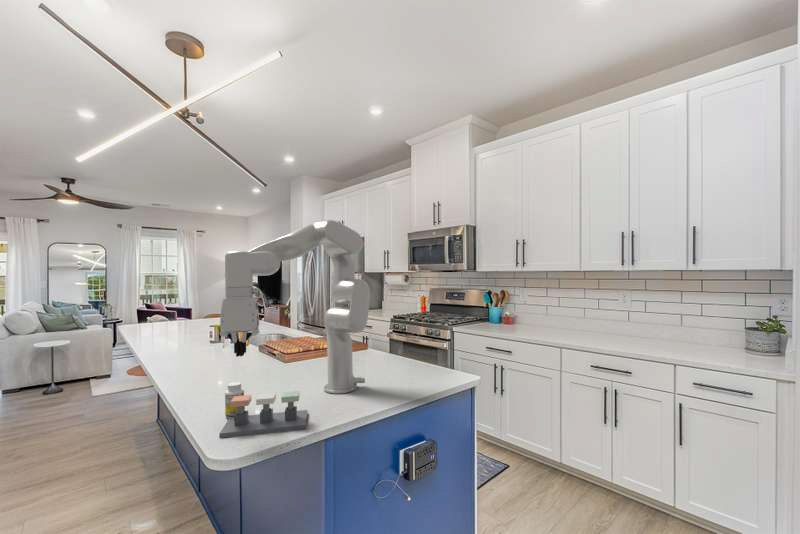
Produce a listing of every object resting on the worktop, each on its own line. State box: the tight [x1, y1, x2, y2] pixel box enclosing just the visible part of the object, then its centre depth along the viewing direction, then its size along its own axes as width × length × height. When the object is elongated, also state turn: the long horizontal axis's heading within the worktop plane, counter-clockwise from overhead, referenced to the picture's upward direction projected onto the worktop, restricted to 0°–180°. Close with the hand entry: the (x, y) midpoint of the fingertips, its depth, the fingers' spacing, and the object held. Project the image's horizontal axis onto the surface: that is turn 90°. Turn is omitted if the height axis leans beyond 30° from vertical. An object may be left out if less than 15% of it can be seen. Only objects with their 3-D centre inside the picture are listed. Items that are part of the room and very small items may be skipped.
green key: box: [281, 390, 300, 410], centre depth 112 cm, size 5×5×5 cm
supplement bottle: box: [224, 381, 245, 420], centre depth 118 cm, size 6×6×10 cm
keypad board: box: [218, 405, 308, 439], centre depth 110 cm, size 23×12×4 cm, turn 102°
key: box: [230, 394, 252, 415], centre depth 109 cm, size 5×5×5 cm
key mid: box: [255, 392, 277, 412], centre depth 110 cm, size 5×5×5 cm
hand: (240, 355), depth 109 cm, fingers closed
